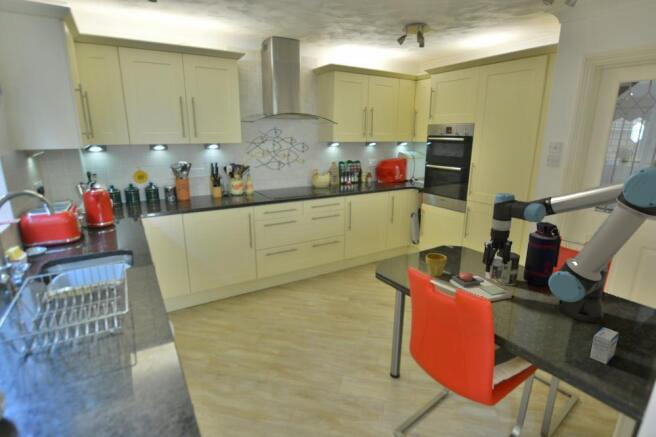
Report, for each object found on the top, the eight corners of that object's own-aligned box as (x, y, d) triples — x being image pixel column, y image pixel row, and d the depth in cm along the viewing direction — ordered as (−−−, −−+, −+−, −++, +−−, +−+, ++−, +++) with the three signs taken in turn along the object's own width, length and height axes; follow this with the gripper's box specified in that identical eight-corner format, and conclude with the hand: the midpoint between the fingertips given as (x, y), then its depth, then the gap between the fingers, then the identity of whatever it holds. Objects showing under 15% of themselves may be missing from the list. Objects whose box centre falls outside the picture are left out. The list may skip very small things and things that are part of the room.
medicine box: (606, 365, 108) (611, 341, 106) (589, 357, 111) (594, 334, 109) (614, 355, 112) (619, 332, 110) (597, 349, 116) (602, 326, 114)
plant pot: (425, 277, 173) (426, 259, 171) (423, 269, 183) (425, 252, 181) (446, 278, 172) (448, 260, 169) (443, 271, 182) (445, 253, 179)
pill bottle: (484, 276, 156) (486, 256, 153) (492, 274, 158) (495, 254, 156) (495, 281, 151) (498, 260, 148) (503, 279, 153) (506, 258, 151)
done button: (475, 281, 162) (475, 276, 161) (464, 282, 160) (465, 277, 160) (466, 276, 167) (467, 271, 167) (456, 277, 166) (457, 273, 165)
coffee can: (512, 277, 173) (516, 251, 170) (519, 286, 163) (523, 258, 160) (490, 276, 175) (494, 250, 172) (496, 284, 165) (499, 257, 162)
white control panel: (511, 297, 152) (512, 290, 151) (482, 302, 147) (483, 295, 146) (476, 278, 172) (477, 271, 172) (449, 282, 168) (450, 275, 167)
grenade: (532, 287, 162) (541, 226, 155) (517, 277, 174) (525, 220, 166) (560, 287, 162) (571, 226, 155) (544, 276, 174) (553, 220, 167)
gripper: (510, 224, 155) (503, 271, 161) (476, 228, 149) (471, 276, 155) (524, 229, 148) (516, 278, 154) (489, 232, 142) (483, 283, 148)
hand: (493, 277), depth 154 cm, fingers closed on pill bottle, 6 cm apart
